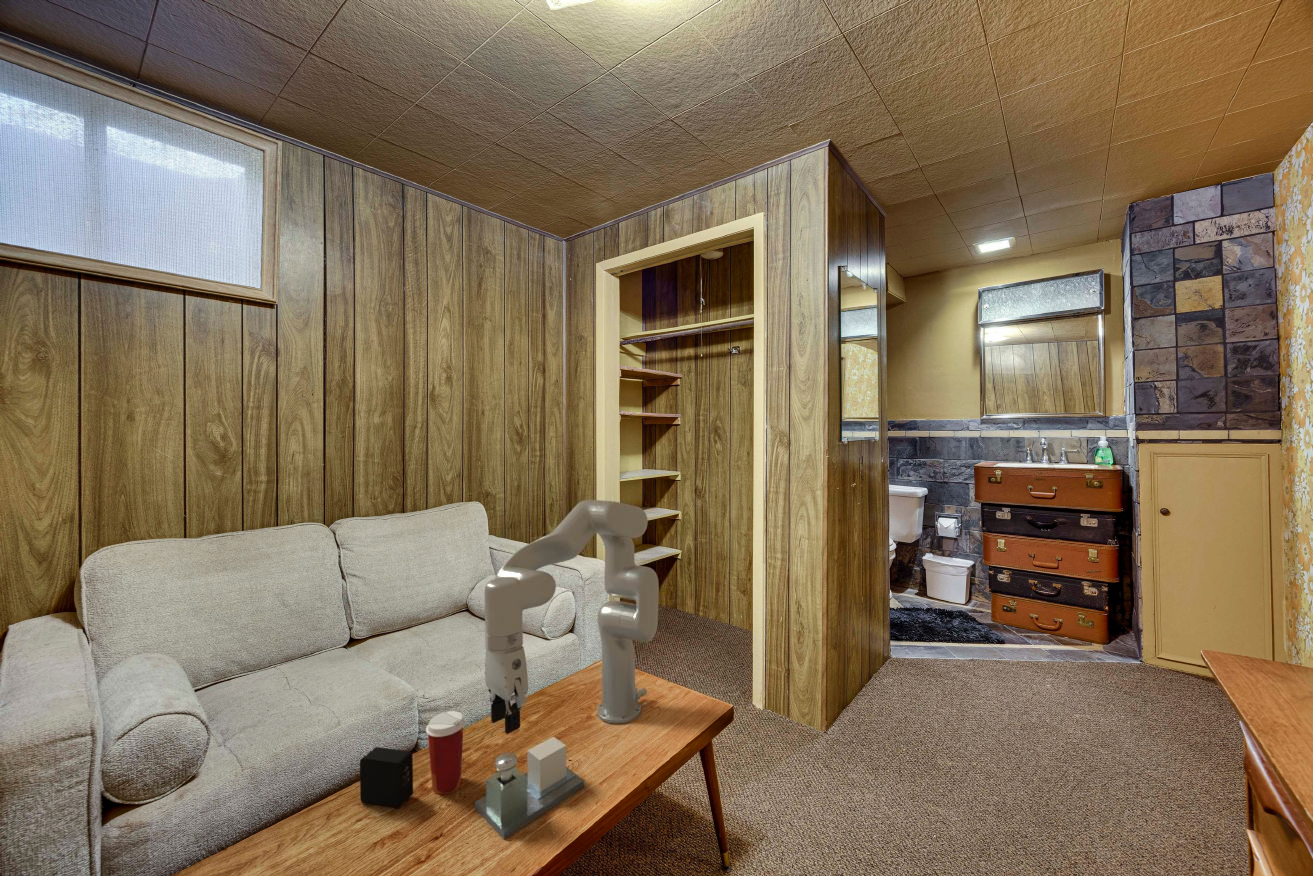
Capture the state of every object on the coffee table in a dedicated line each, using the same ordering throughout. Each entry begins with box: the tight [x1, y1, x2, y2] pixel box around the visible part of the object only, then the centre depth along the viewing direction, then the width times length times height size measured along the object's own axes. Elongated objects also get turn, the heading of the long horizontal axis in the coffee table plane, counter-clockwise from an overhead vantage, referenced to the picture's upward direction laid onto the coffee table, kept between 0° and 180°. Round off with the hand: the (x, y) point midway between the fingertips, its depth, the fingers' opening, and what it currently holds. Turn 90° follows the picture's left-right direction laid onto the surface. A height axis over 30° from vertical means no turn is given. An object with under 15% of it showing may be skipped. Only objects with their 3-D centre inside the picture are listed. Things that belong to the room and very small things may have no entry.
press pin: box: [494, 752, 518, 786], centre depth 105 cm, size 4×4×6 cm
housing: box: [526, 736, 567, 792], centre depth 114 cm, size 7×5×7 cm
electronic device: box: [359, 746, 414, 810], centre depth 110 cm, size 4×10×10 cm, turn 78°
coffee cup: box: [425, 710, 466, 795], centre depth 115 cm, size 8×8×15 cm
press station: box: [474, 766, 585, 840], centre depth 110 cm, size 20×12×8 cm, turn 136°
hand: (505, 724), depth 105 cm, fingers open, 4 cm apart
